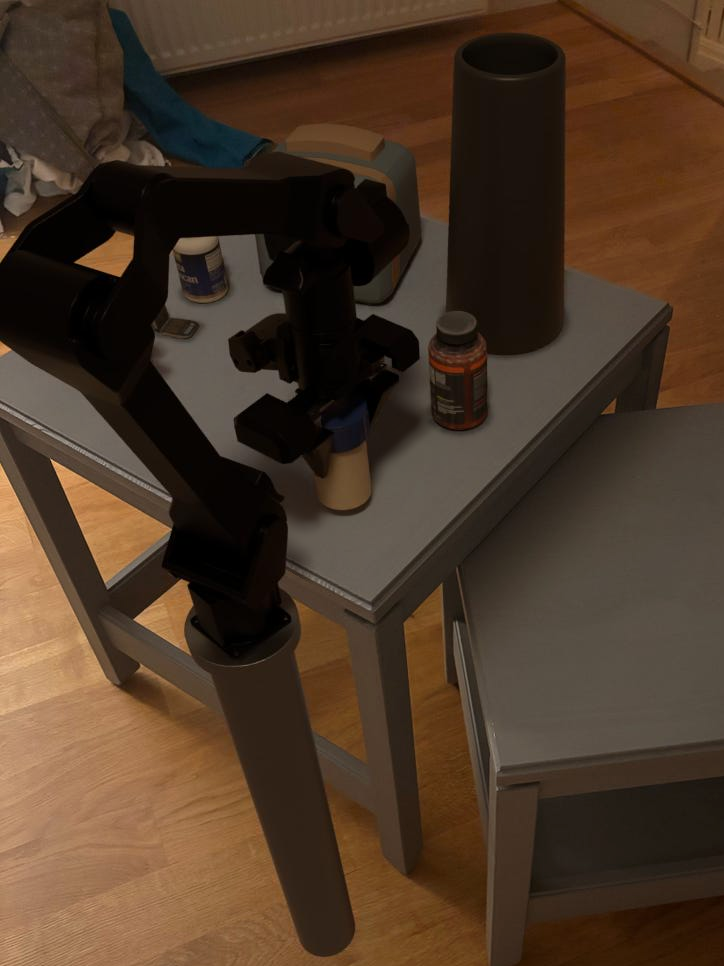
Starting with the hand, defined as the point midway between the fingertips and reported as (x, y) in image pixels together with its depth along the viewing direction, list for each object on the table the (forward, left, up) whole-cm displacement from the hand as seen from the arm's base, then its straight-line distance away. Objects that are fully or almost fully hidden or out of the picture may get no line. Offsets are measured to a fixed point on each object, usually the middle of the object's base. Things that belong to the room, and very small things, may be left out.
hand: (340, 459), depth 98 cm
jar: (0, 0, -4) cm, 4 cm away
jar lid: (0, 0, +3) cm, 3 cm away
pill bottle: (+13, +39, -6) cm, 42 cm away
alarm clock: (+28, +31, -6) cm, 42 cm away
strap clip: (+5, +37, -6) cm, 38 cm away
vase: (+33, +9, -6) cm, 35 cm away
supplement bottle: (+17, +1, -6) cm, 18 cm away
